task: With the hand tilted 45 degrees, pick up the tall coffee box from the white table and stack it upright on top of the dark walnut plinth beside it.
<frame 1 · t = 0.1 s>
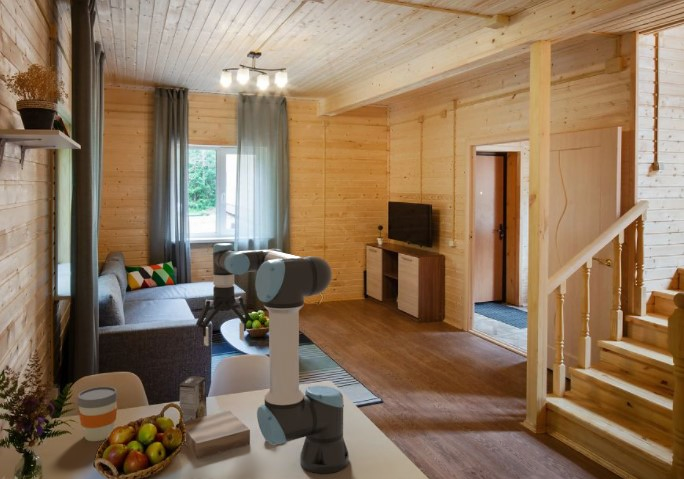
hand: (224, 342, 198), 28 cm above the table, tool pointing down, fingers open, 13 cm apart
coffee box: (193, 424, 194), on the table
reusable coffee cup: (99, 435, 185), on the table
walnut plinth: (214, 440, 181), on the table
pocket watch: (275, 439, 183), on the table
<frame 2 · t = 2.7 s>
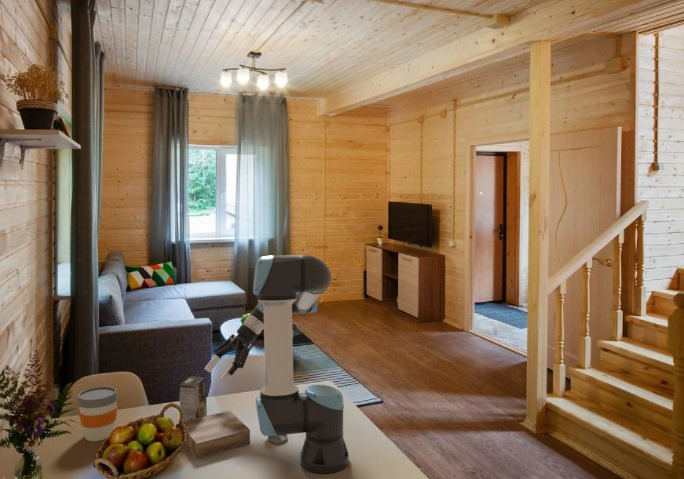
hand: (214, 376, 198), 16 cm above the table, tool tilted 45°, fingers open, 13 cm apart
nothing on the table moved.
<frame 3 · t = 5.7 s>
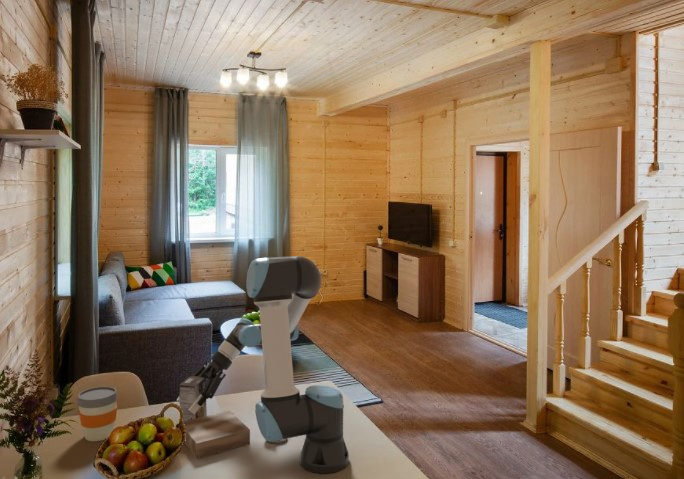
hand: (185, 407, 191), 7 cm above the table, tool tilted 45°, fingers closed on coffee box, 10 cm apart
coffee box: (193, 424, 194), on the table, touching gripper
everything else where it was.
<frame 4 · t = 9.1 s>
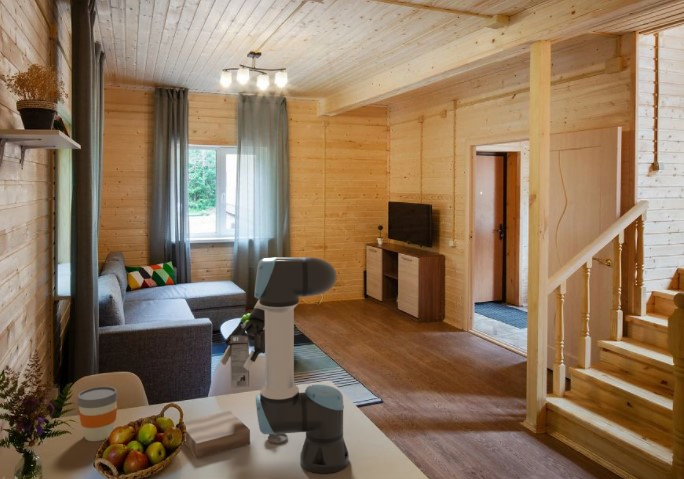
hand: (233, 365, 187), 23 cm above the table, tool tilted 45°, fingers closed on coffee box, 10 cm apart
coffee box: (240, 383, 191), point 16 cm above the table, touching gripper
everything else where it was.
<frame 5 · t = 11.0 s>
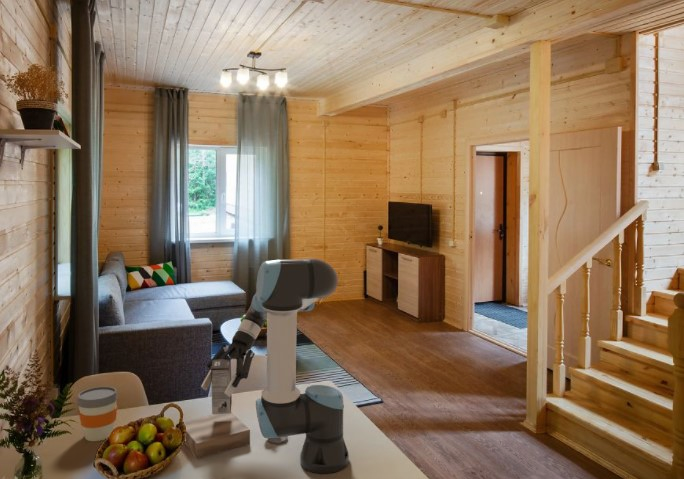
hand: (215, 391, 181), 16 cm above the table, tool tilted 45°, fingers closed on coffee box, 10 cm apart
coffee box: (222, 409, 185), point 9 cm above the table, touching gripper
everything else where it was.
when the fingers open (13 cm above the table, at t = 12.6 s): coffee box drops 1 cm, resting on walnut plinth.
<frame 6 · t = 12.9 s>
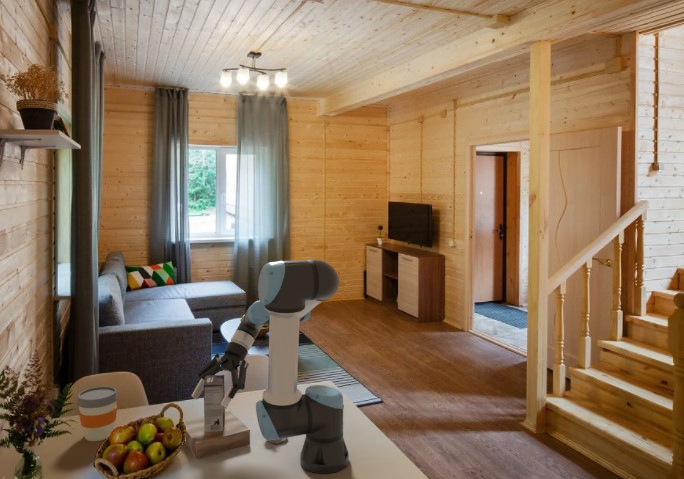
hand: (208, 402, 178), 14 cm above the table, tool tilted 45°, fingers open, 13 cm apart
coffee box: (215, 426, 181), point 5 cm above the table, touching walnut plinth
everything else where it was.
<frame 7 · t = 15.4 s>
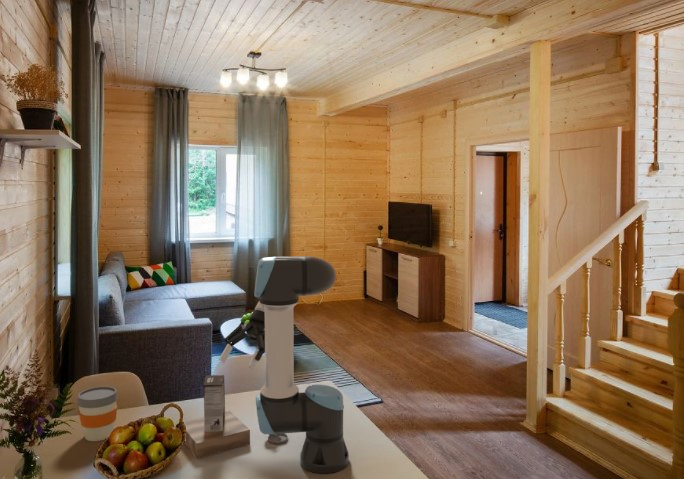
hand: (235, 364, 189), 23 cm above the table, tool tilted 45°, fingers open, 13 cm apart
nothing on the table moved.
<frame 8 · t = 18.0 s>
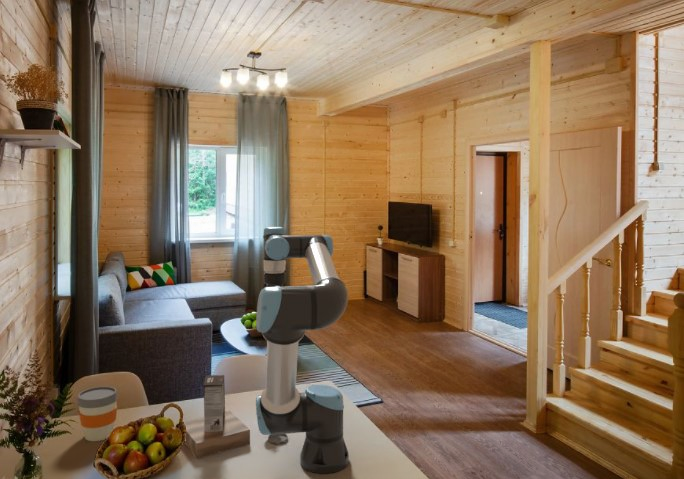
hand: (275, 331, 188), 35 cm above the table, tool pointing down, fingers open, 13 cm apart
nothing on the table moved.
at the end: coffee box inside the target area on the walnut plinth (0.2 cm from its centre), point 4.8 cm above the walnut plinth's base; coffee box tilted 0°; the gripper is holding nothing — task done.
